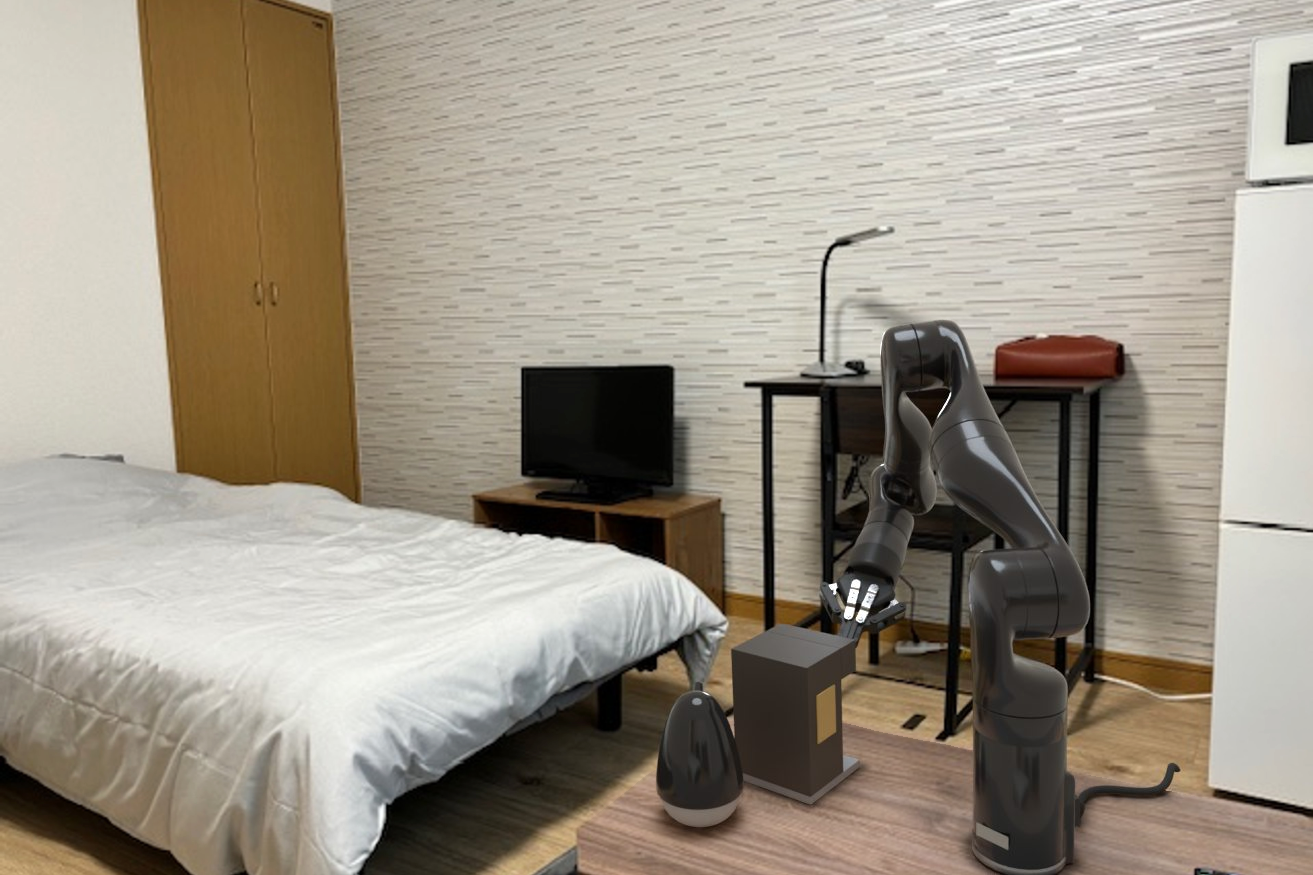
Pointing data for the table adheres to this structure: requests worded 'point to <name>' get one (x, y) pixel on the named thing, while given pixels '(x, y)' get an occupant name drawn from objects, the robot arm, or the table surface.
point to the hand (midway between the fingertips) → (845, 646)
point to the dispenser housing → (792, 710)
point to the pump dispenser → (698, 762)
